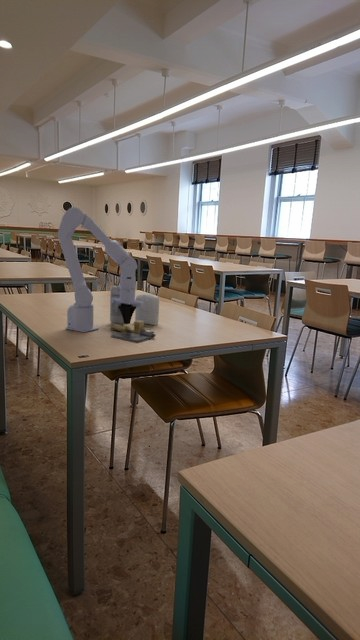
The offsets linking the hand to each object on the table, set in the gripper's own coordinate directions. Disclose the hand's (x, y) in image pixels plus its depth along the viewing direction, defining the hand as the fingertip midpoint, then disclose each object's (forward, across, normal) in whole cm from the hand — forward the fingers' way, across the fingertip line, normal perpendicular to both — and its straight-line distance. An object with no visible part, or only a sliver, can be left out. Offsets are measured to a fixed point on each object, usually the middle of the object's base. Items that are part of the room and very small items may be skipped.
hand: (127, 323), depth 159 cm
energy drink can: (+2, +9, -5) cm, 11 cm away
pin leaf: (+2, -11, +9) cm, 14 cm away
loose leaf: (+2, -3, +1) cm, 4 cm away
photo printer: (+2, +1, -14) cm, 14 cm away
